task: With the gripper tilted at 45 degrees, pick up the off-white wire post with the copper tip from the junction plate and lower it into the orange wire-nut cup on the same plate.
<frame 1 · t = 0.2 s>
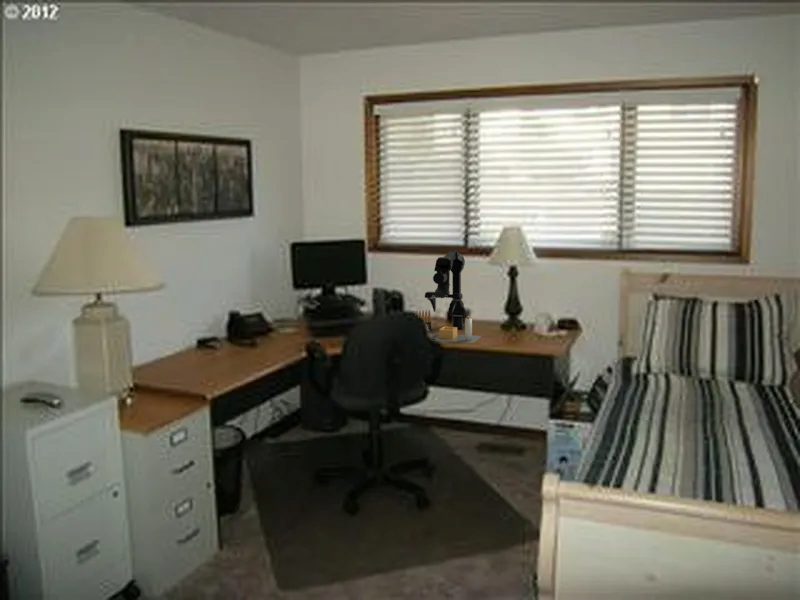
hand: (443, 312, 360), 14 cm above the table, tool pointing down, fingers open, 9 cm apart
ammunition clip: (421, 332, 381), on the table
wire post: (468, 340, 355), point 1 cm above the table, touching junction plate
junction plate: (457, 339, 360), on the table
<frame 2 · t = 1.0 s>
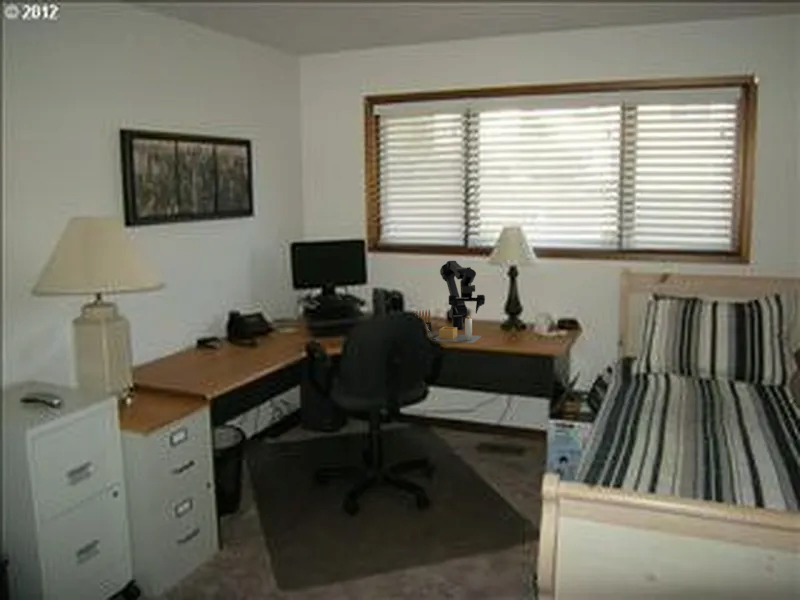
hand: (467, 313, 360), 13 cm above the table, tool tilted 45°, fingers open, 9 cm apart
nothing on the table moved.
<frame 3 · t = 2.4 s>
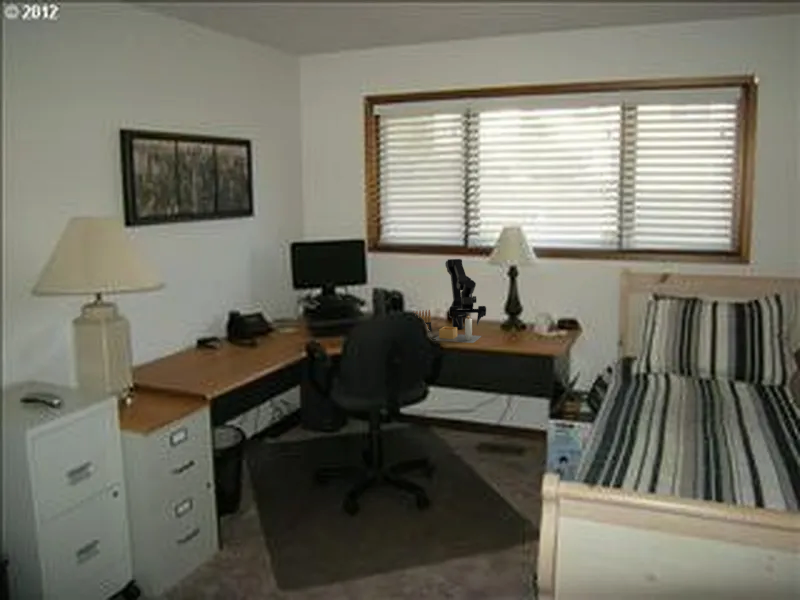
hand: (468, 324, 355), 9 cm above the table, tool tilted 45°, fingers open, 9 cm apart
nothing on the table moved.
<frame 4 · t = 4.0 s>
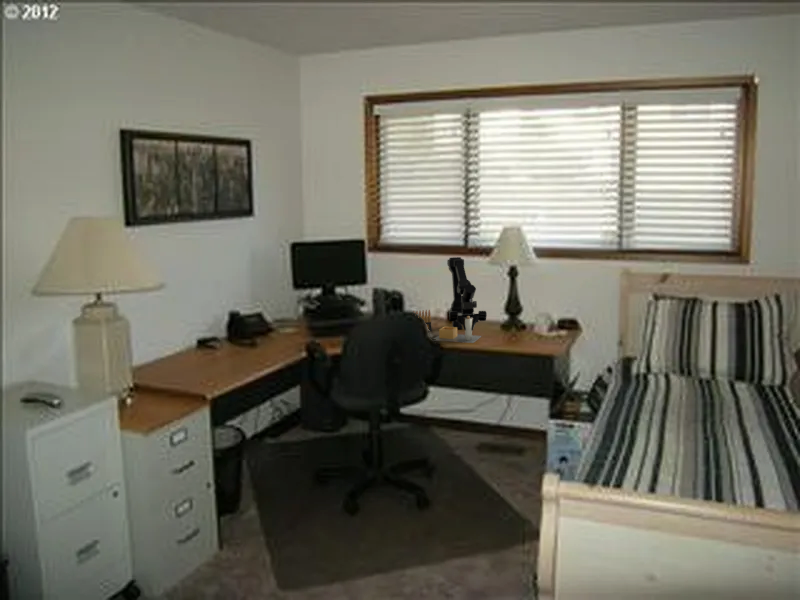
hand: (468, 330, 353), 7 cm above the table, tool tilted 45°, fingers closed on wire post, 3 cm apart
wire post: (468, 340, 355), point 1 cm above the table, touching gripper, junction plate
everything else where it was.
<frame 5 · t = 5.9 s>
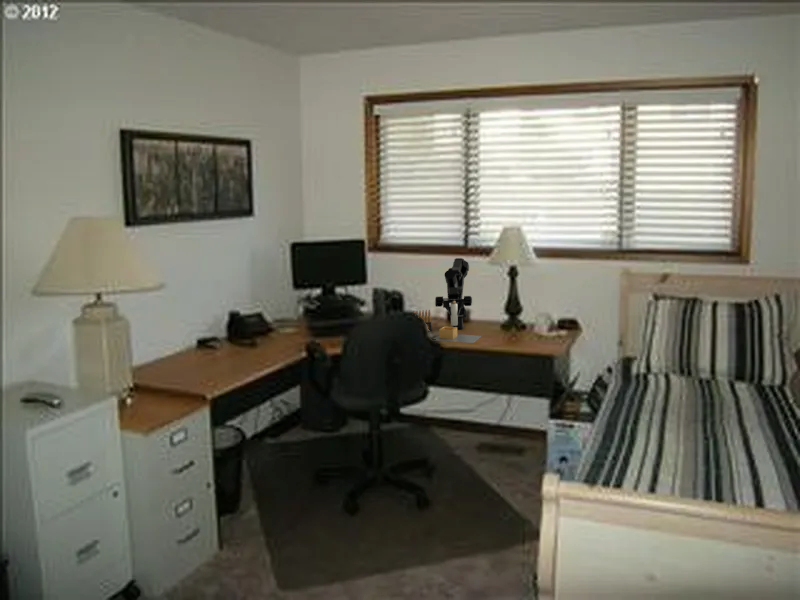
hand: (454, 314, 357), 13 cm above the table, tool tilted 45°, fingers closed on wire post, 3 cm apart
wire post: (454, 325, 360), point 8 cm above the table, touching gripper
everything else where it was.
when the fingers open (8 cm above the table, at t = 7.8 s): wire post drops 1 cm, resting on junction plate.
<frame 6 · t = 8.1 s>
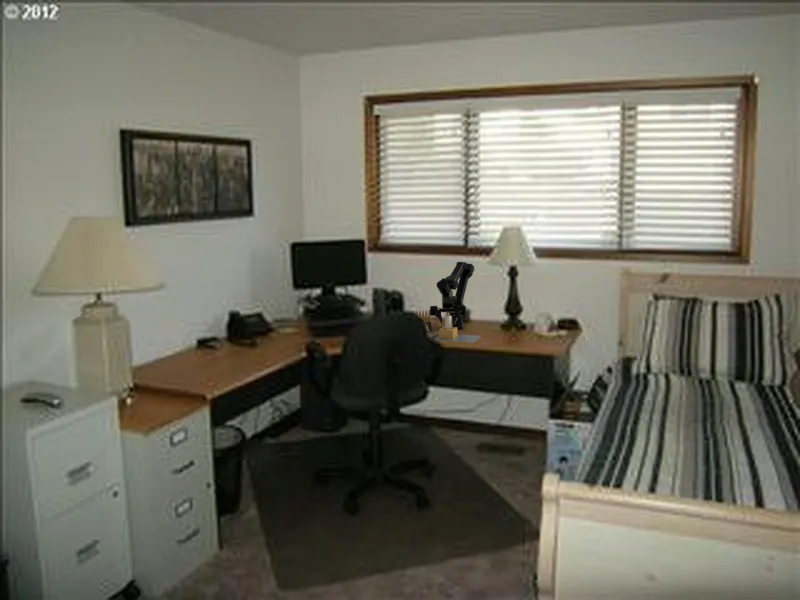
hand: (448, 324, 360), 8 cm above the table, tool tilted 45°, fingers open, 6 cm apart
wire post: (448, 336, 363), point 1 cm above the table, touching junction plate
everything else where it was.
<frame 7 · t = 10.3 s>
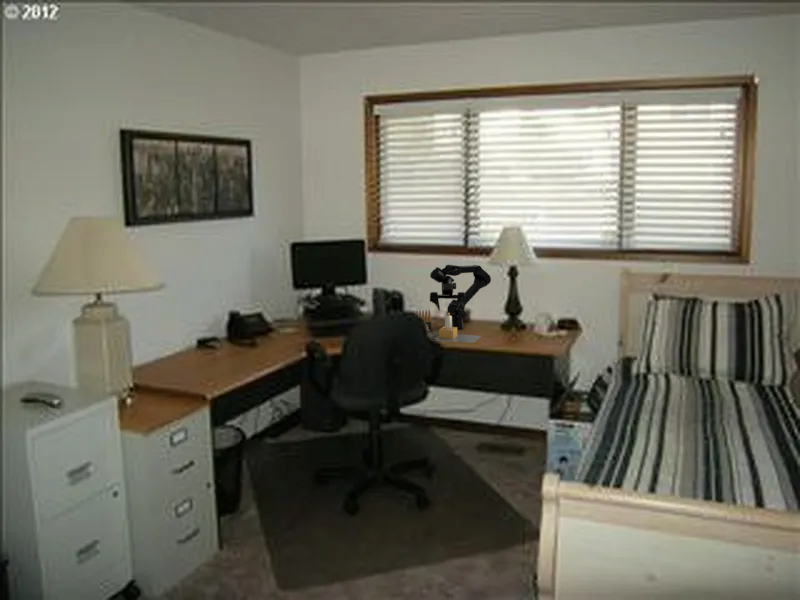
hand: (448, 310, 368), 14 cm above the table, tool tilted 45°, fingers open, 9 cm apart
nothing on the table moved.
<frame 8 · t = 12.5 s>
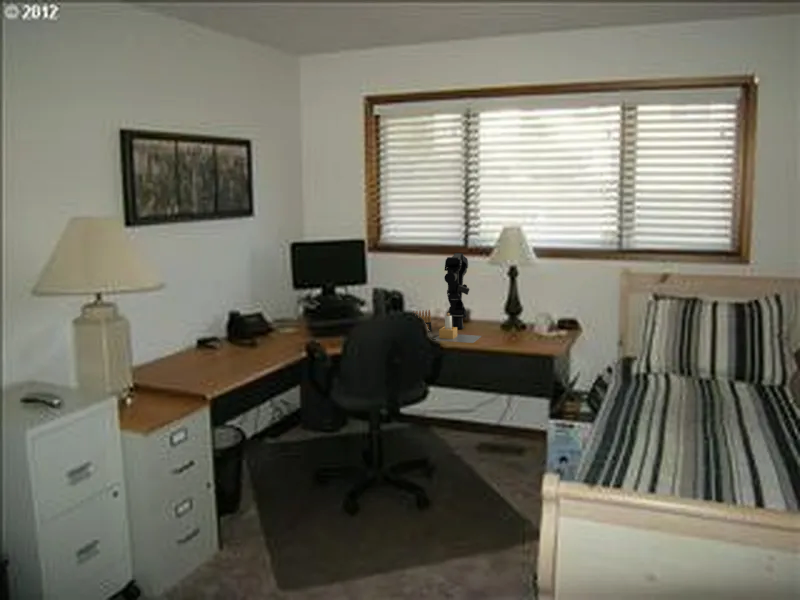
hand: (453, 309, 372), 13 cm above the table, tool pointing down, fingers open, 9 cm apart
nothing on the table moved.
at the end: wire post 0.0 cm from the target spot on the junction plate, point 1.0 cm above the junction plate's base; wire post tilted 1°; the gripper is holding nothing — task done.
